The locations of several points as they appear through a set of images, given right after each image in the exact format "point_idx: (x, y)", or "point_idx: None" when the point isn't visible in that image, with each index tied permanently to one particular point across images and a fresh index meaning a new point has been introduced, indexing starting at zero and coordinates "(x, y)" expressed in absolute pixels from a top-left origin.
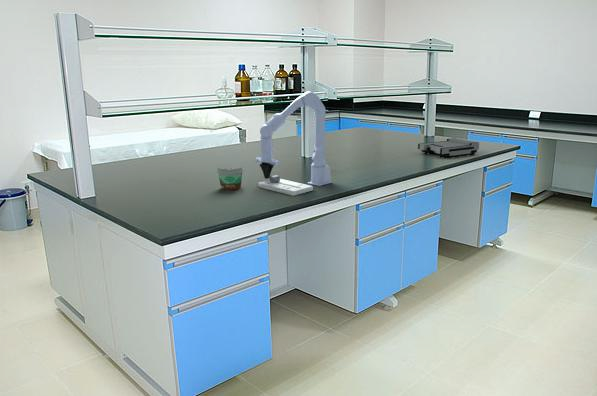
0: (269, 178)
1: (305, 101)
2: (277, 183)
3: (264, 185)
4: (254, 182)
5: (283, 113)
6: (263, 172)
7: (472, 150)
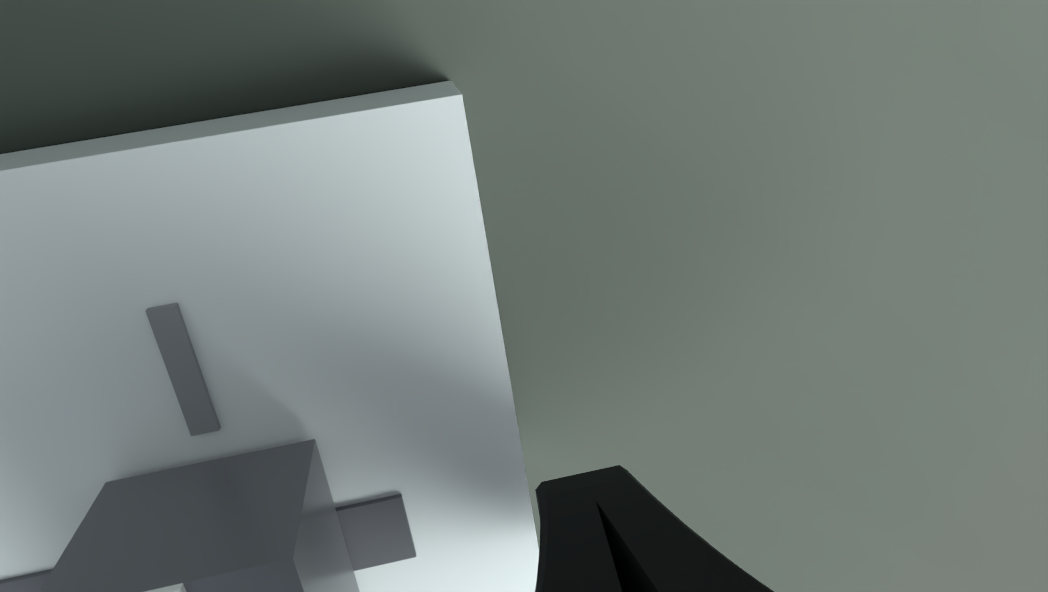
0: (301, 507)
1: None
2: (22, 541)
3: (137, 142)
4: (908, 271)
5: None
6: (705, 569)
7: None
